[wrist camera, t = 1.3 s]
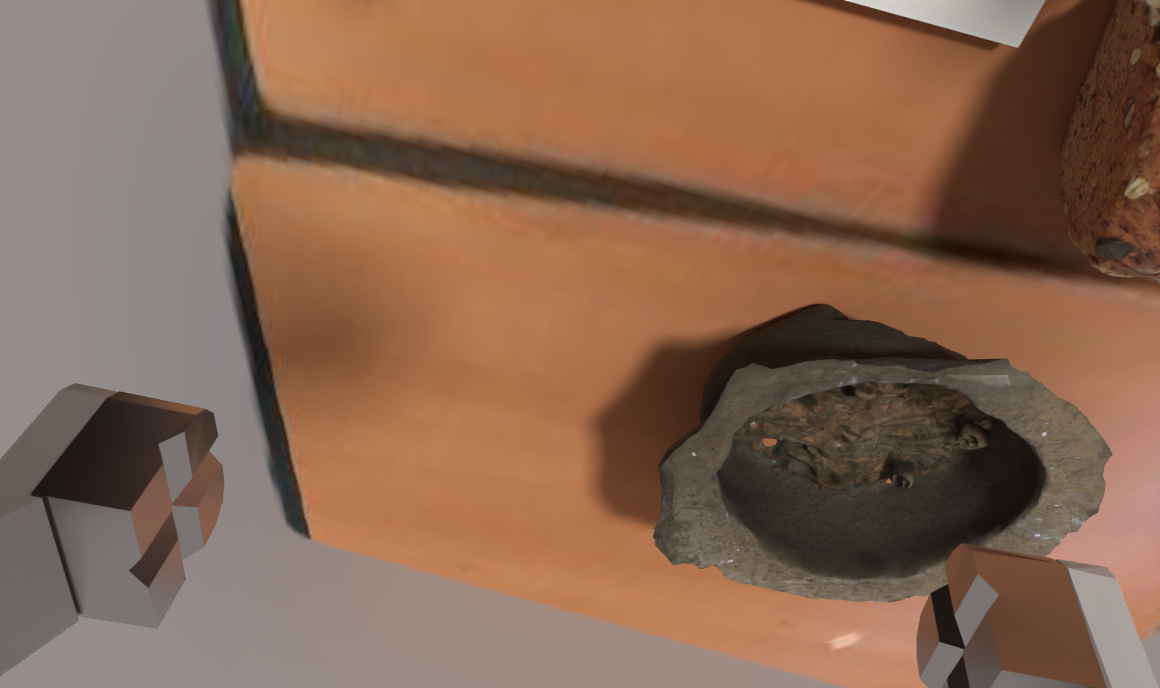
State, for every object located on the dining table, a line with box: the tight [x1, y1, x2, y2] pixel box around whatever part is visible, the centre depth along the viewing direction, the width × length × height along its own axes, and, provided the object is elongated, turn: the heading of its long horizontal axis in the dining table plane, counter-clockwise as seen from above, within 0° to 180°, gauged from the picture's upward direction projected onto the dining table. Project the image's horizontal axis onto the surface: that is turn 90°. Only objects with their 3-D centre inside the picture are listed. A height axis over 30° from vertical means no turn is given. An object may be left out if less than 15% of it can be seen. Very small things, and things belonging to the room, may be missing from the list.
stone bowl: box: [653, 305, 1113, 603], centre depth 58 cm, size 25×25×9 cm
